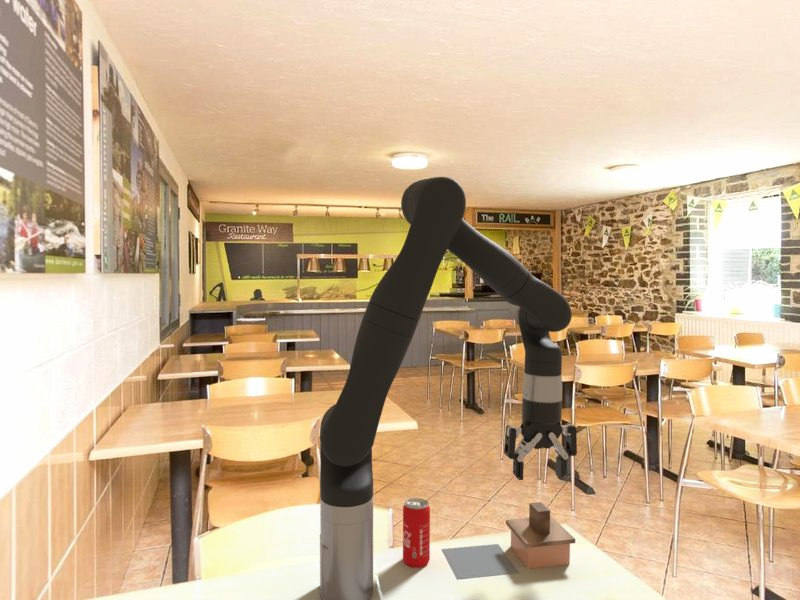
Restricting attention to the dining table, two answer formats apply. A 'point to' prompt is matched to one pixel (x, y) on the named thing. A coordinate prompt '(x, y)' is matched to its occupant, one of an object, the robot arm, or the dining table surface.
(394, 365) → the robot arm
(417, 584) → the dining table surface
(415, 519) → the beverage can
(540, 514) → the lid
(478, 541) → the dining table surface
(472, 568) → the mat
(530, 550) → the open salmon box
